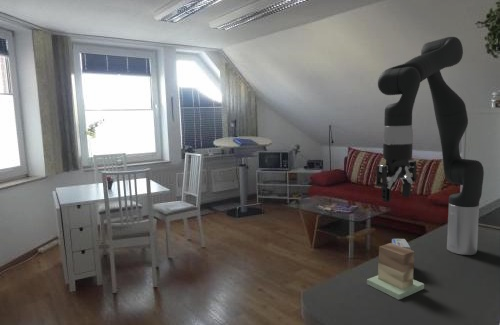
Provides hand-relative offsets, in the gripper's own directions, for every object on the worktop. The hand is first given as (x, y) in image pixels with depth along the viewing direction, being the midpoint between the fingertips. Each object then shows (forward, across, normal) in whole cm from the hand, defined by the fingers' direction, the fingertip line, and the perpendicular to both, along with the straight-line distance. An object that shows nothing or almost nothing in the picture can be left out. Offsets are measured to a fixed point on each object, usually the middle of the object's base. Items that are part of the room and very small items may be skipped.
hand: (396, 199), depth 100 cm
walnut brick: (+20, 0, 0) cm, 20 cm away
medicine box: (+26, -12, -7) cm, 30 cm away
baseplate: (+26, 0, 0) cm, 26 cm away
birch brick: (+25, 0, 0) cm, 25 cm away
